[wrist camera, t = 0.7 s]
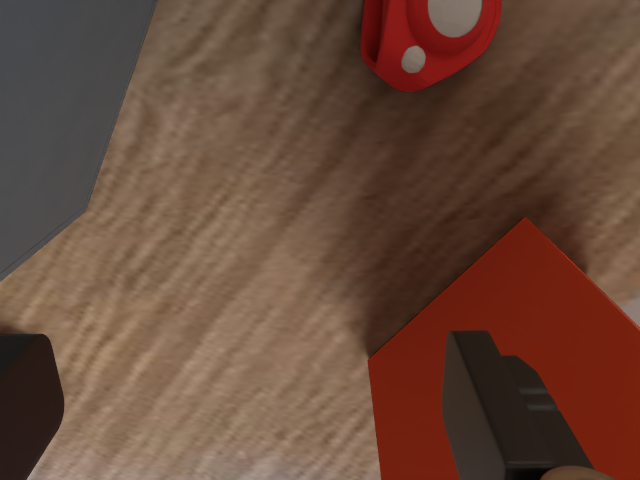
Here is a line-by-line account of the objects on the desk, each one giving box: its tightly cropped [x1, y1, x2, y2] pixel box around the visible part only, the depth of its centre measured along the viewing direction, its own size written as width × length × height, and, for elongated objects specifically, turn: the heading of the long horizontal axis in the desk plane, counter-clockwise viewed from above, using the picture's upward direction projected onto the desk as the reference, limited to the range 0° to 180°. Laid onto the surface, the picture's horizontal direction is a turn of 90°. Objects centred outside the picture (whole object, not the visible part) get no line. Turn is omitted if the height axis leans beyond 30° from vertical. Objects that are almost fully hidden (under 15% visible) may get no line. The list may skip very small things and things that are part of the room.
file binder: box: [368, 217, 640, 480], centre depth 30 cm, size 8×17×32 cm, turn 138°
